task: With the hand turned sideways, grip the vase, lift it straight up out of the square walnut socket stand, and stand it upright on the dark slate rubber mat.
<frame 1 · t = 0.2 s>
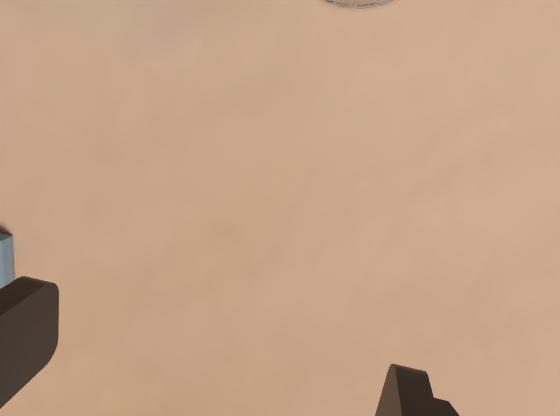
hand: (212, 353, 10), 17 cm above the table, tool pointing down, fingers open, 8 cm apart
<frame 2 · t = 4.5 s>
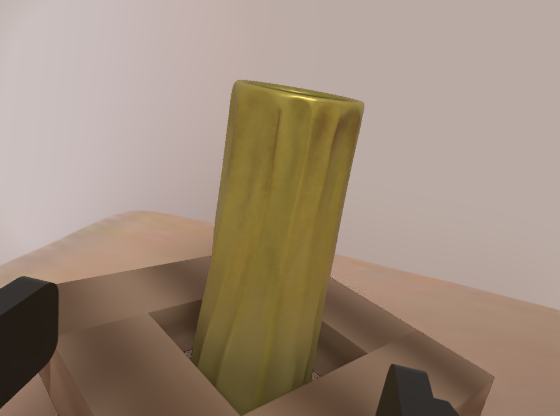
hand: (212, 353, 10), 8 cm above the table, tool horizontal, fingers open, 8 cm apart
vase: (247, 388, 22), resting in socket stand
socket stand: (248, 385, 22), on the table
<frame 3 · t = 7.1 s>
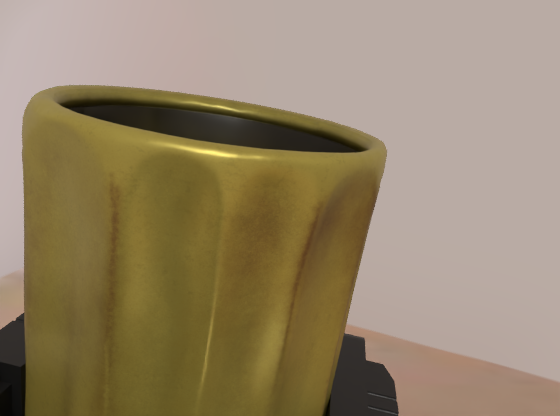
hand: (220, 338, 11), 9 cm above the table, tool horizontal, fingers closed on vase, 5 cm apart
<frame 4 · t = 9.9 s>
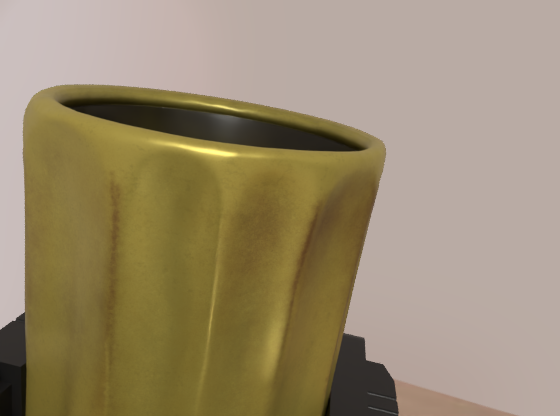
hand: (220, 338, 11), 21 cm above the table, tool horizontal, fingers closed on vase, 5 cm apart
when the fingers open (10 cm above the table, at t = 12.8 s): vase stays where it is, resting on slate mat.
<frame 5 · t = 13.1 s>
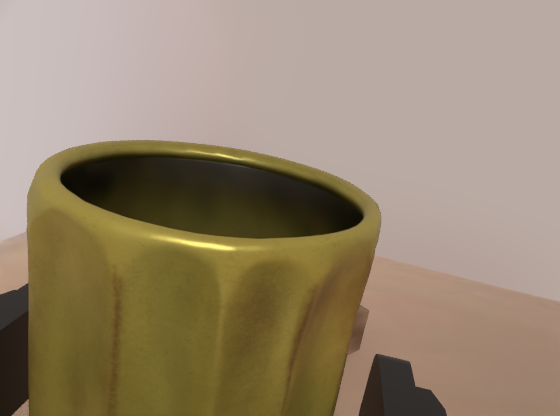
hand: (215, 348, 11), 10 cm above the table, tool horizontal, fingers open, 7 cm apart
socket stand: (193, 318, 30), on the table
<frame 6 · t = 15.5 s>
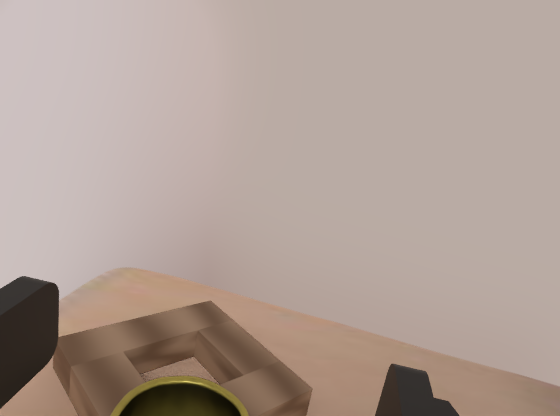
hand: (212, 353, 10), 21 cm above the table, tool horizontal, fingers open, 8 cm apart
socket stand: (179, 392, 39), on the table
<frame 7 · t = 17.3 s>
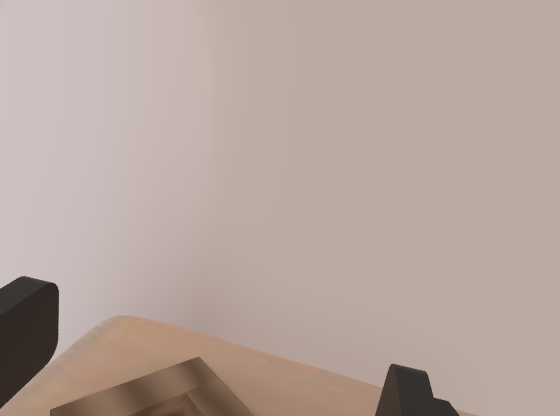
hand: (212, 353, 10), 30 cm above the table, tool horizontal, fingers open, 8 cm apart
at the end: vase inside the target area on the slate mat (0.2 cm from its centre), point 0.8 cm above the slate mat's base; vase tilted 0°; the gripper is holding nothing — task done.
